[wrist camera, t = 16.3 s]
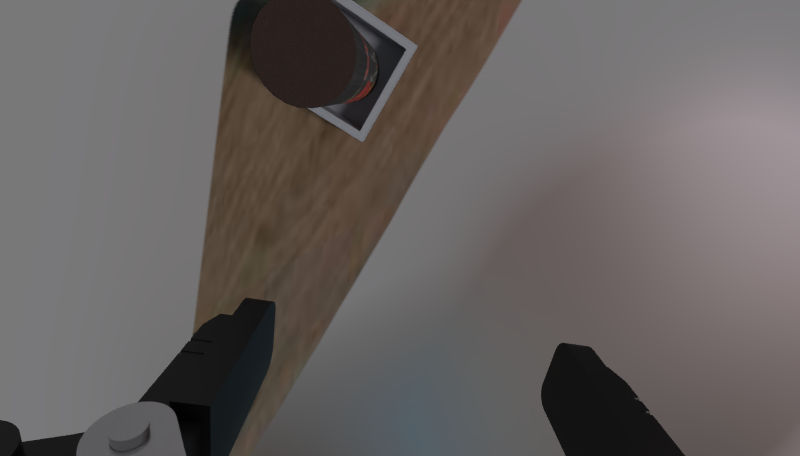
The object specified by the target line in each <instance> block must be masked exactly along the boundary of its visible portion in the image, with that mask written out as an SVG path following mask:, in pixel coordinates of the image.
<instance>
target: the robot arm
mask: <svg viewBox="0 0 800 456" xmlns="http://www.w3.org/2000/svg"><path fill="white" fill-rule="evenodd" d="M275 310H276V306H275V302H273V301H266V300H258V299H251V298H245V299H244V300H243V301H242V303H241V304H240V306H239V307H238V308H237V310H236V311H235V312H234V314H233V315H226V314H220V315H218V316H216V317H215V318H213V319H211V320H209V321H208V322H206V323H204V324H203V325H202V326H201V327H200V328H199V330H198V331H197V332H196V333H195V334H194V336H193V337H192V338H191V341H189V342H188V343H187V344H186V345H185V346H184V348H183V349H182V350H181V352H180V353H179V354H178V355H177V356H176V357H175V358H174V360H173V361H172V362H171V363H170V364H169V366H168V367H167V368H166V369H165V370H164V372H163V373H162V374H161V375H160V376H159V378H158V379H157V380H156V381H155V382H154V384H153V385H152V386H151V387H150V388H149V389H148V391H147V392H146V393H145V394H144V396H143V397H142V398H141V399H140V400H139V401H138V402H137V403H133V404H129V405H126V406H123V407H120V408H118V409H115V410H113V411H111V412H109V413H108V414H106V415H104V416H103V417H101V418H100V419H99V420H97V421H96V422H95V423H94V424H92V425H91V426H90V427H89V428H88V430H87V431H86V432H84V433H78V434H73V435H66V436H60V437H53V438H46V439H40V440H33V441H26V442H22V440H21V436H20V432H19V429H18V428H17V427H16V426H15V425H14V424H12V423H10V422H7V421H2V420H0V456H229V454H230V452H231V450H232V448H233V445H234V443H235V441H236V439H237V437H238V435H239V432H240V430H241V428H242V426H243V424H244V422H245V419H246V417H247V415H248V413H249V411H250V409H251V406H252V404H253V402H254V400H255V398H256V396H257V393H258V391H259V389H260V387H261V385H262V382H263V380H264V378H265V376H266V374H267V371H268V369H269V365H270V362H271V358H272V352H273V341H274V325H275ZM541 399H542V405H543V408H544V411H545V412H546V415H547V417H548V419H549V421H550V423H551V425H552V427H553V430H554V431H555V434H556V436H557V438H558V440H559V442H560V444H561V447H562V449H563V451H564V453H565V455H566V456H685V455H684V454H683V453H682V451H681V450H680V449H679V448H678V446H677V445H676V444H675V443H674V441H673V440H672V439H671V438H670V436H669V435H668V434H667V433H666V431H665V430H664V429H663V428H662V426H661V425H660V424H659V423H658V421H657V420H656V419H655V418H654V416H653V415H650V411H649V410H648V409H647V408H646V406H645V405H644V404H643V403H642V402H641V401H639V398H638V396H637V395H636V394H635V393H634V392H633V390H632V389H631V388H630V386H629V385H628V384H627V383H626V382H625V381H624V380H623V379H622V378H620V377H619V376H618V375H617V374H616V373H614V372H613V371H612V370H611V369H609V368H608V367H606V366H605V365H604V363H603V362H602V361H601V359H600V358H599V357H598V355H597V354H596V353H595V351H594V350H593V349H592V348H590V347H588V346H582V345H574V344H567V343H561V344H559V345H558V347H557V348H556V351H555V353H554V356H553V359H552V361H551V364H550V366H549V369H548V372H547V374H546V377H545V380H544V382H543V385H542V390H541Z"/></svg>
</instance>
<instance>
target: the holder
mask: <svg viewBox="0 0 800 456" xmlns="http://www.w3.org/2000/svg"><path fill="white" fill-rule="evenodd" d="M329 1H331V2H332V3H334V4H335V5H336V6H337V7H338V8H339V9H340V11H341V12H342V13H343V14H344V15H345V16H346V17H347V19H348V20H349V21H350V22H351V23H352V24H353V25H354V27H355V28H356V29H357V30H358V31H359V32H360V33H361V35H362V36H363V37H364V38H365V39H366V40H367V41H368V43H369V44H370V45H371V46H372V47H373V49H374V51H375V53H376V55H377V57H378V61H379V77H378V81H377V84H376V86H375V87H374V89H373V91H372V92H371V93H370V94H369V95H368V96H367V97H365V98H363V99H361V100H359V101H355V102H350V103H343V104H337V105H331V106H324V107H318V108H308V109H310V110H311V111H313V112H314V113H316V114H318V115H319V116H321V117H323V118H324V119H326V120H327V121H329V122H331V123H332V124H334V125H336V126H337V127H339V128H340V129H342V130H344V131H345V132H347V133H349V134H350V135H352V136H353V137H355V138H357V139H358V140H360V141H362V142H363V141H364V140H365V138H366V136H367V135H368V133H369V131H370V129H371V128H372V126H373V124H374V122H375V121H376V119H377V117H378V115H379V114H380V112H381V110H382V109H383V107H384V105H385V103H386V102H387V100H388V98H389V96H390V95H391V93H392V91H393V89H394V88H395V86H396V84H397V82H398V81H399V79H400V77H401V75H402V74H403V72H404V70H405V68H406V67H407V65H408V63H409V61H410V60H411V58H412V56H413V54H414V53H415V51H416V49H417V47H418V46H417V45H415V44H414V43H413V42H411V41H410V40H408V39H407V38H405V37H404V36H403V35H401V34H400V33H398V32H397V31H395V30H394V29H392V28H391V27H390V26H388V25H387V24H385V23H384V22H382V21H381V20H379V19H378V18H377V17H375V16H374V15H372V14H371V13H369V12H368V11H367V10H365V9H364V8H362V7H361V6H359V5H358V4H356V3H355V2H354V1H352V0H329Z"/></svg>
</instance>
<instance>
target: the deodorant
mask: <svg viewBox="0 0 800 456" xmlns="http://www.w3.org/2000/svg"><path fill="white" fill-rule="evenodd" d="M250 48H251V58H252V61H253V64H254V67H255V70H256V73H257V74H258V76H259V78H260V79H261V81H262V83H263V84H264V86H265V87H266V88H267V89H268V90H269V91H270V92H271V93H272V94H273V95H274V96H275V97H277V98H279V99H280V100H282V101H283V102H285V103H287V104H290V105H292V106H295V107H298V108H318V107H324V106H331V105H337V104H343V103H350V102H355V101H359V100H361V99H363V98H365V97H367V96H368V95H369V94H370V93H371V92H372V91H373V89H374V87H375V86H376V84H377V81H378V77H379V61H378V57H377V55H376V53H375V51H374V49H373V47H372V46H371V45H370V44H369V43H368V41H367V40H366V39H365V38H364V37H363V36H362V35H361V33H360V32H359V31H358V30H357V29H356V28H355V27H354V25H353V24H352V23H351V22H350V21H349V20H348V19H347V17H346V16H345V15H344V14H343V13H342V12H341V11H340V9H339V8H338V7H337V6H336V5H335V4H334V3H332V2H331V1H329V0H269V1H268V2H267V3H266V4H265V5H264V7H263V8H262V9H261V10H260V11H259V13H258V15H257V17H256V19H255V22H254V24H253V26H252V32H251V38H250Z"/></svg>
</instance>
